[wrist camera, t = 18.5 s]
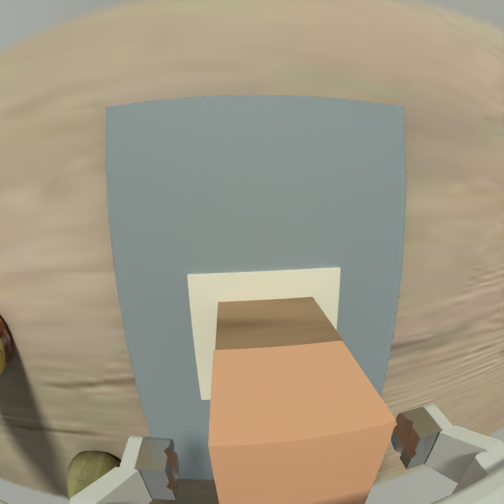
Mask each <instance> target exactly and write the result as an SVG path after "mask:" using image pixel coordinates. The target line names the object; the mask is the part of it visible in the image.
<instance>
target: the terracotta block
mask: <svg viewBox="0 0 504 504" xmlns="http://www.w3.org/2000/svg"><path fill="white" fill-rule="evenodd" d="M395 423H396V420H395V418H394V417H393V415H392V414H391V412H390V411H389V409H388V408H387V406H386V405H385V403H384V402H383V400H382V399H381V397H380V396H379V394H378V393H377V391H376V390H375V388H374V387H373V385H372V384H371V382H370V381H369V379H368V378H367V376H366V375H365V373H364V372H363V370H362V369H361V368H360V366H359V365H358V363H357V362H356V360H355V359H354V357H353V356H352V354H351V353H350V351H349V350H348V348H347V347H346V346H345V344H344V343H343V341H342V340H340V341H332V342H323V343H313V344H303V345H291V346H279V347H265V348H248V349H227V350H213V366H212V382H211V400H210V419H209V440H208V447H209V453H210V459H211V464H212V469H213V475H214V480H215V485H216V490H217V495H218V500H219V504H365V501H366V499H367V497H368V494H369V492H370V490H371V488H372V485H373V483H374V481H375V478H376V476H377V473H378V471H379V468H380V466H381V463H382V461H383V458H384V455H385V453H386V450H387V447H388V444H389V441H390V438H391V436H392V433H393V430H394V426H395Z"/></svg>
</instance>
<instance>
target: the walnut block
mask: <svg viewBox="0 0 504 504" xmlns="http://www.w3.org/2000/svg"><path fill="white" fill-rule="evenodd" d="M340 340H342V341H343V339H342V338H341V336H340V335H339V333H338V332H337V331H336V329H335V328H334V326H333V325H332V323H331V322H330V321H329V319H328V318H327V316H326V315H325V314H324V312H323V311H322V309H321V308H320V306H319V305H318V304H317V302H316V301H315V299H314V298H313V297H302V298H286V299H270V300H251V301H229V302H218V311H217V326H216V343H215V350H227V349H248V348H265V347H279V346H291V345H303V344H313V343H323V342H332V341H340Z"/></svg>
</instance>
